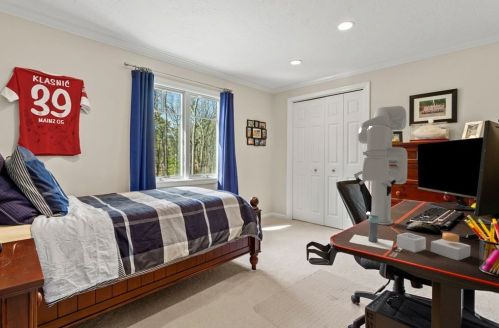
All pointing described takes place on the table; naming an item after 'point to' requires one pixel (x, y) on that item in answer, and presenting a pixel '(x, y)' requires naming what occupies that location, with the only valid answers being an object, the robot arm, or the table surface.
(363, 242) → the paper
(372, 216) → the marker
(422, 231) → the table surface
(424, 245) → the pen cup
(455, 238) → the button
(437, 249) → the button box
